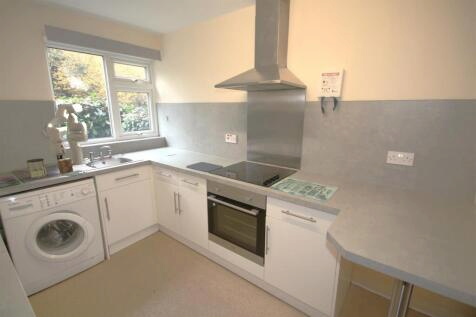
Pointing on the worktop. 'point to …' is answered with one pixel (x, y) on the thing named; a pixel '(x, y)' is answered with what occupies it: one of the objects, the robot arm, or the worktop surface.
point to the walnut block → (65, 165)
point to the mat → (74, 173)
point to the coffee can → (36, 168)
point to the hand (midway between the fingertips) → (60, 162)
